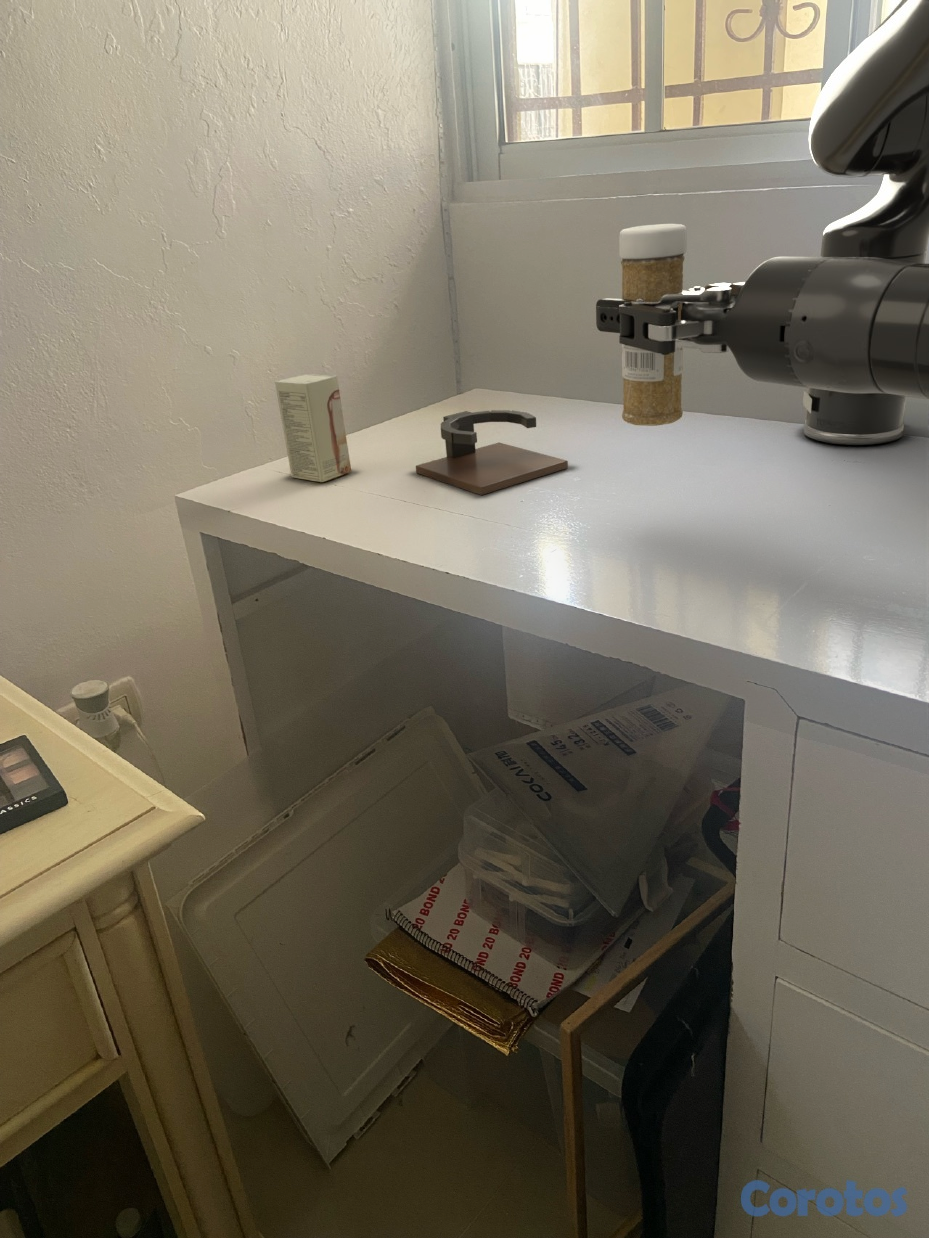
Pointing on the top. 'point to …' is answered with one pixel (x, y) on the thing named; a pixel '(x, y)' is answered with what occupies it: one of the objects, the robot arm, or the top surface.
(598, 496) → the top surface
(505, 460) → the cup holder
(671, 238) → the spice jar
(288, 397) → the printed product carton
